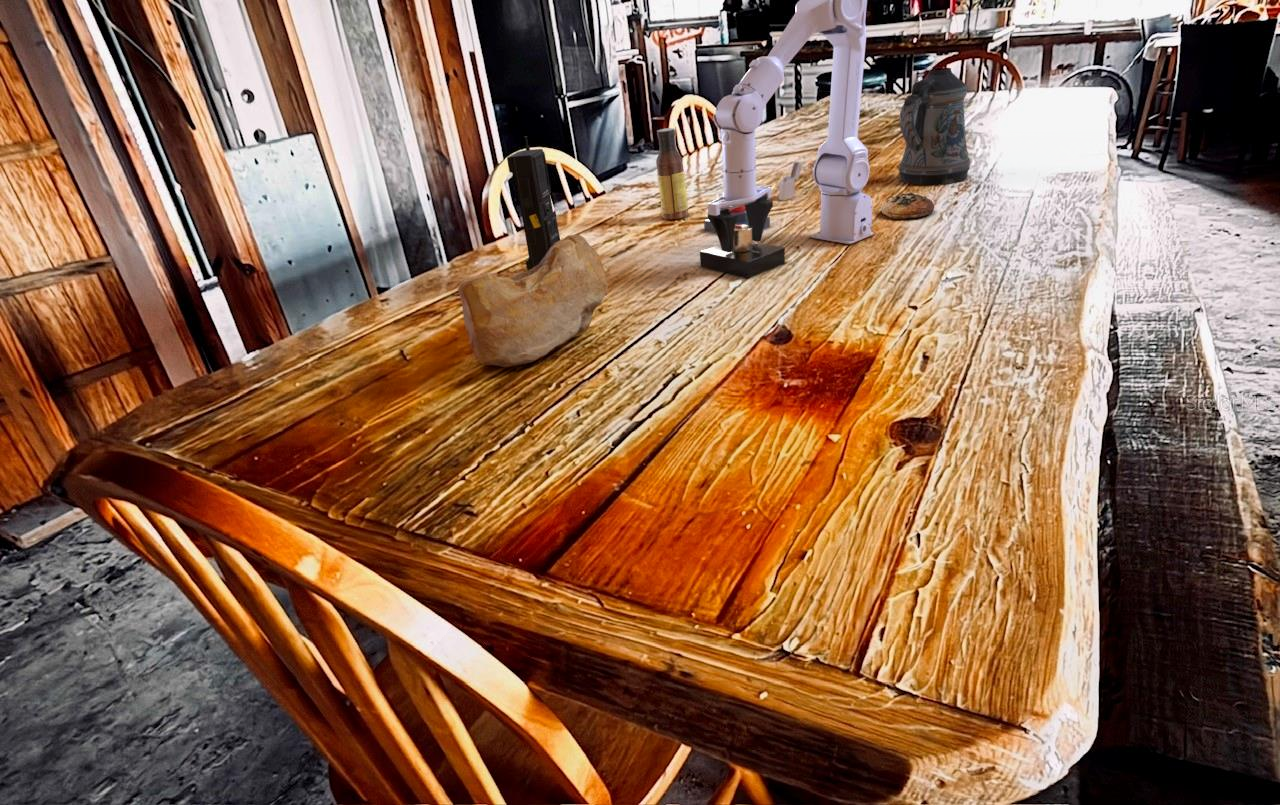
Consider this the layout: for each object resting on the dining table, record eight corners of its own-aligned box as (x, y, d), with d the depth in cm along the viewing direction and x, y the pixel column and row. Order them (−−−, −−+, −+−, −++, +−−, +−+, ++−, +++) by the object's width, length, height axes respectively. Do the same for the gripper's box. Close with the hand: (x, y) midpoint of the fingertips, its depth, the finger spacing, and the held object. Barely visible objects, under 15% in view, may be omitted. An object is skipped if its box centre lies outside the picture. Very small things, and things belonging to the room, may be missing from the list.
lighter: (784, 200, 171) (784, 166, 168) (778, 199, 173) (778, 166, 169) (802, 194, 175) (802, 161, 172) (796, 193, 176) (797, 160, 173)
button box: (770, 227, 152) (769, 208, 150) (741, 237, 147) (741, 218, 145) (732, 220, 160) (731, 202, 158) (704, 230, 155) (703, 212, 153)
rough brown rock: (568, 311, 121) (548, 224, 114) (627, 326, 108) (608, 230, 102) (446, 361, 109) (416, 268, 103) (496, 385, 97) (466, 280, 90)
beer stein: (974, 171, 179) (987, 62, 167) (959, 189, 165) (972, 71, 153) (906, 170, 187) (914, 67, 175) (887, 187, 173) (894, 76, 161)
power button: (748, 211, 151) (748, 203, 151) (736, 215, 150) (736, 206, 149) (735, 209, 154) (735, 201, 153) (724, 213, 152) (724, 205, 151)
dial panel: (784, 263, 130) (784, 246, 128) (748, 278, 124) (747, 261, 123) (736, 253, 138) (736, 237, 137) (700, 266, 133) (699, 250, 131)
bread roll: (946, 212, 148) (945, 188, 145) (903, 229, 145) (901, 205, 143) (910, 204, 157) (908, 182, 155) (868, 220, 155) (866, 198, 153)
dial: (757, 248, 129) (756, 224, 127) (742, 253, 127) (741, 230, 125) (740, 244, 132) (740, 221, 130) (726, 250, 130) (725, 227, 128)
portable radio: (555, 278, 135) (533, 141, 124) (526, 278, 137) (501, 143, 125) (566, 265, 142) (547, 134, 130) (538, 266, 143) (516, 136, 132)
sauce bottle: (688, 213, 170) (683, 125, 160) (687, 219, 164) (682, 129, 155) (661, 215, 171) (654, 128, 161) (660, 221, 165) (652, 132, 156)
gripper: (750, 160, 130) (751, 232, 136) (693, 176, 122) (698, 252, 128) (780, 162, 125) (780, 238, 131) (723, 179, 117) (726, 258, 123)
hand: (741, 245), depth 129 cm, fingers open, 7 cm apart
